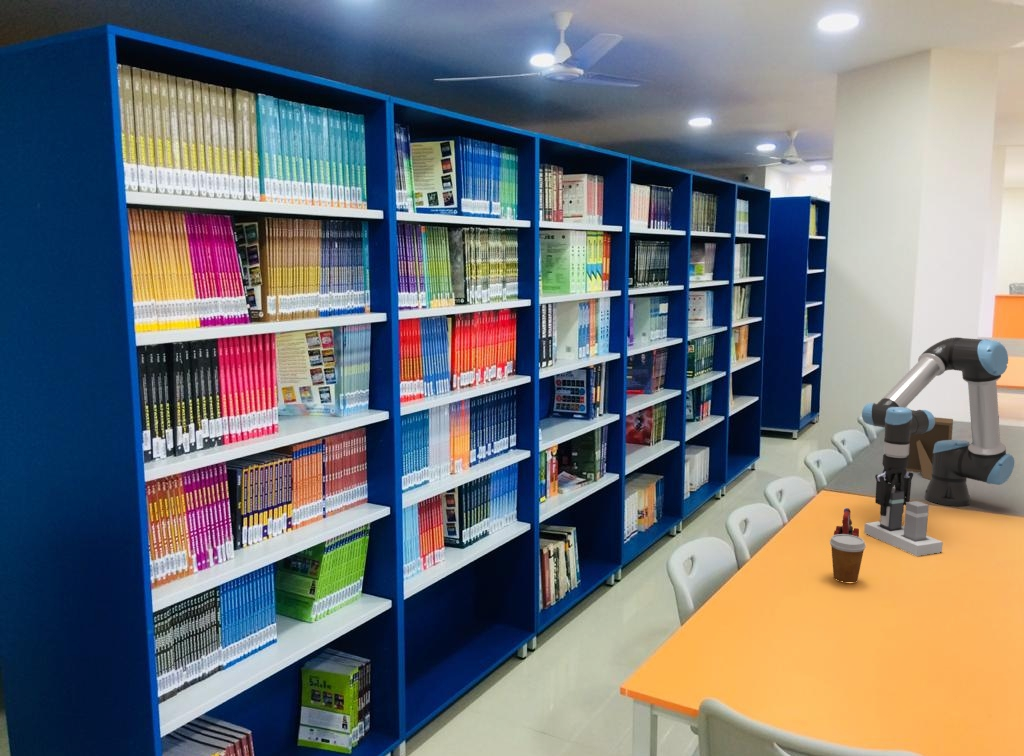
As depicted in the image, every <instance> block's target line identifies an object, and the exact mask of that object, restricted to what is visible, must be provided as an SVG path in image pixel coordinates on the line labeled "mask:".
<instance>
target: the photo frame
mask: <svg viewBox="0 0 1024 756" xmlns="http://www.w3.org/2000/svg"><path fill="white" fill-rule="evenodd" d="M934 418H935V425H934V427H933V429H932V430H930V431H928V432H925V433H922V434H921V433H920V434H914V435H910V446H909V455H908V458H909V460H908V467H907V468H906V470H907V471H908V472H911V471H913V472H912V473H918V472H920V473H921V476H922V478H923V479H926V480H929V481H930V480H931V476H932V462H933V450H934V445H935V443H936V442H938V441H943V440H953V428H954V425H953V424H954V419H953V418H947V417H936V416H934Z"/></svg>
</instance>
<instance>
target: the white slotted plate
mask: <svg viewBox="0 0 1024 756" xmlns="http://www.w3.org/2000/svg"><path fill="white" fill-rule="evenodd" d="M863 531H864V533H863V534H865V533H866V534H865V535H867V534H868V535H867V536H869V535H870V536H869V537H872V538H874V537H875V538H874V539H877V540H878V539H879V540H878V541H881V542H883V541H884V542H883V543H885V542H886V543H885V544H887V543H888V544H887V545H889V544H890V546H892V547H894V546H895V548H896V547H898V548H900V549H899V550H901V549H902V550H901V551H903V550H904V551H903V552H905V551H906V553H907V552H909V553H908V554H910V553H911V554H910V555H912V554H913V555H912V556H914V555H915V556H914V557H916V556H917V557H922V556H921V555H924V556H928V555H927V554H930V555H935V554H934V553H937V554H941V553H940V552H942V553H943V544H944V543H943V541H942V540H939V539H936V538H934V537H931V536H929V535H926V540H923V541H917V542H914V541H912V540H910V539H907V538H905V537H904V525H902V528H901V530H896V531H888V530H886V529H884V528H881V527H880V520H879V521H871V522H865V523H864V530H863ZM898 548H897V549H898Z"/></svg>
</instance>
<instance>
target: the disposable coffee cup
mask: <svg viewBox="0 0 1024 756" xmlns="http://www.w3.org/2000/svg"><path fill="white" fill-rule="evenodd" d="M829 544H830V546H831V560H832V571H833V575H832V576H833V579H834V578H835V579H837V580H839V581H843V582H856V581H857V582H858V579H859V576H860V575H859V574H860V570H861V564H862V561H863V556H864V551H865V549H866V548H867V547H866V546H867V544H866V542H865V540H864V539H863V538H862V537H857V536H853V535H847V534H837V535H834V534H833V535H832V536H831V539H830V540H829ZM835 579H834V580H835ZM837 580H836V581H837ZM839 581H838V582H839ZM857 582H856V583H857Z"/></svg>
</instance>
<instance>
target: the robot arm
mask: <svg viewBox="0 0 1024 756" xmlns="http://www.w3.org/2000/svg"><path fill="white" fill-rule="evenodd" d="M1008 364H1009V354H1008V351H1007V349H1006V346H1004V344H1002V343H1001V342H1000V341H995V340H990V339H985V338H984V339H979V338H967V337H965V338H964V337H959V336H958V337H949V338H946V339H943V340H940V341H939V342H936V343H934V344H933V345H931V346H929V347H928V348H927V349H926V350H924V351H923V352H922V353H921V355H919V357H918V359H917V363H916V364H915V365H914V366H913V367H912V368H910V370H909V371H908V372H907V373H905V374H904V376H902V378H901V379H900V380H899V381H898V382H897V383H896V384H894V386H893V387H892V388H891V389H890V390H889V391H888V392H887V393H886V394H885V395H884V396H883V397H882V398H881V399H880V400H879V401H878V402H877V403H875V402H871V403H870V402H869V403H867V404H865V405H864V406H863V408H862V410H861V418H862V421H863V422H864V423H865V424H867V425H869V426H873V427H878V428H879V427H880V428H884V438H883V439H884V441H883V449H882V450H883V452H882V453H883V455H882V466H883V470H882V473H880V474H875V481H876V485H875V499H874V500H875V502H874V503H875V504H877V505H879V506H880V508H879V514H880V519H881V524H883V525H885V526H889V514H890V507H889V506H888V504H889V500H890V494H891V492H892V488H894V489H896V490H899V491H903V492H904V503H903V512H905V511H904V509H905V508H904V507H905V506H906V502H911V501H910V500H911V491H912V480H913V477H914V472H911V471H907V470H906V468H907V467H908V460H909V458H908V455H909V446H910V435H914V434H920V433H921V434H922V433H925V432H928V431H930V430H932V429H933V427H934V425H935V418H934V417H935V416H934V415H933V413H932V412H931V411H929V410H927V409H917V410H914V409H910V408H908V405H910V404H911V403H912V402H913V400H914V399H916V397H918V395H919V394H920V393H921V392H922V391H923V390H924V389H925V388H927V386H928V385H929V384H930V383H931V382H932V381H933V380H934V379H935V377H936V376H937V377H939V376H941V375H943V374H944V373H945V372H946V371H958V372H959V371H960V372H961V374H962V375H961V376H962V379H963V380H964V382H966V383H967V386H968V387H967V388H968V389H967V390H968V401H969V403H968V404H969V414H970V425H971V426H970V427H971V440H972V442H971V443H970V441H967V440H962V439H952V440H943V441H938V442H936V443H935V445H934V450H933V462H932V476H931V480H930V479H929V482H928V485H927V487H926V489H925V491H924V499H925V500H926V499H927V500H926V501H928V500H929V502H931V503H933V502H934V504H937V503H938V505H943V506H949V505H950V507H951V506H952V507H965V506H969V505H970V504H971V495H970V494H969V489H968V485H967V479H969V480H973V481H978V482H982V483H987V484H988V485H989V484H991V485H996V486H997V485H998V486H1000V485H1003V484H1005V483H1006V482H1007V481H1008V480H1009V478H1010V477H1011V476H1012V473H1013V470H1014V468H1015V458H1014V456H1013V455H1011V454H1010V453H1007V449H1006V445H1005V444H1004V443H1002V442H1001V431H1000V430H1001V429H1000V419H999V415H1000V414H999V402H998V388H997V384H998V383H997V381H998V380H999V379H1001V378H1002V375H1003V374H1004V373H1005V372H1006V371H1007V368H1008Z"/></svg>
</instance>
